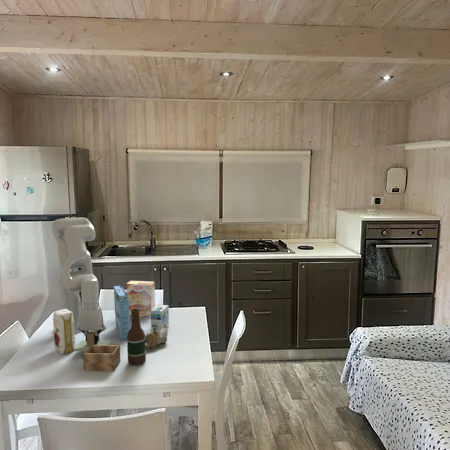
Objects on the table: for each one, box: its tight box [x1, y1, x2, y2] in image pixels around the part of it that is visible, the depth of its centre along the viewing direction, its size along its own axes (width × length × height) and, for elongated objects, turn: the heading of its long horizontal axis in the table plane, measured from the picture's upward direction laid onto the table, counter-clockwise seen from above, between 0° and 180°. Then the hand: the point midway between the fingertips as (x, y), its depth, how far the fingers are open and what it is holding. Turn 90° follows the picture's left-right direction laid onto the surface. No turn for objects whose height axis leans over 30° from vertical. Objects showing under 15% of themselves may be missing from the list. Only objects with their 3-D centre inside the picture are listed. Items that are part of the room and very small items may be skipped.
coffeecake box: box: [125, 280, 156, 317], centre depth 239 cm, size 15×7×20 cm, turn 81°
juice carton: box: [52, 309, 76, 355], centre depth 191 cm, size 8×9×19 cm
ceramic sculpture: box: [145, 326, 169, 350], centre depth 197 cm, size 11×9×15 cm
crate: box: [82, 344, 121, 372], centre depth 176 cm, size 13×9×8 cm
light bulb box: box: [150, 304, 170, 331], centre depth 220 cm, size 11×7×11 cm, turn 168°
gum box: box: [113, 285, 131, 341], centre depth 211 cm, size 20×5×23 cm, turn 23°
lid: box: [72, 330, 112, 352], centre depth 189 cm, size 14×10×8 cm
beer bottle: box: [126, 309, 147, 367], centre depth 178 cm, size 8×8×24 cm
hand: (92, 342), depth 189 cm, fingers closed on lid, 3 cm apart
